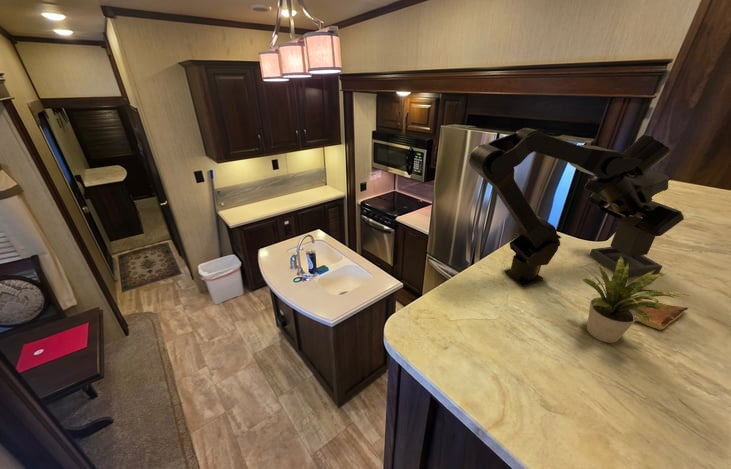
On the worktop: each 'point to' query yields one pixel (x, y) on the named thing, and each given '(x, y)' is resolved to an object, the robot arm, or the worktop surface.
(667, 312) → the shard
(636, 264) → the base pad
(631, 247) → the dark banded block
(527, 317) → the worktop surface
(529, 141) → the robot arm
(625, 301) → the house plant
